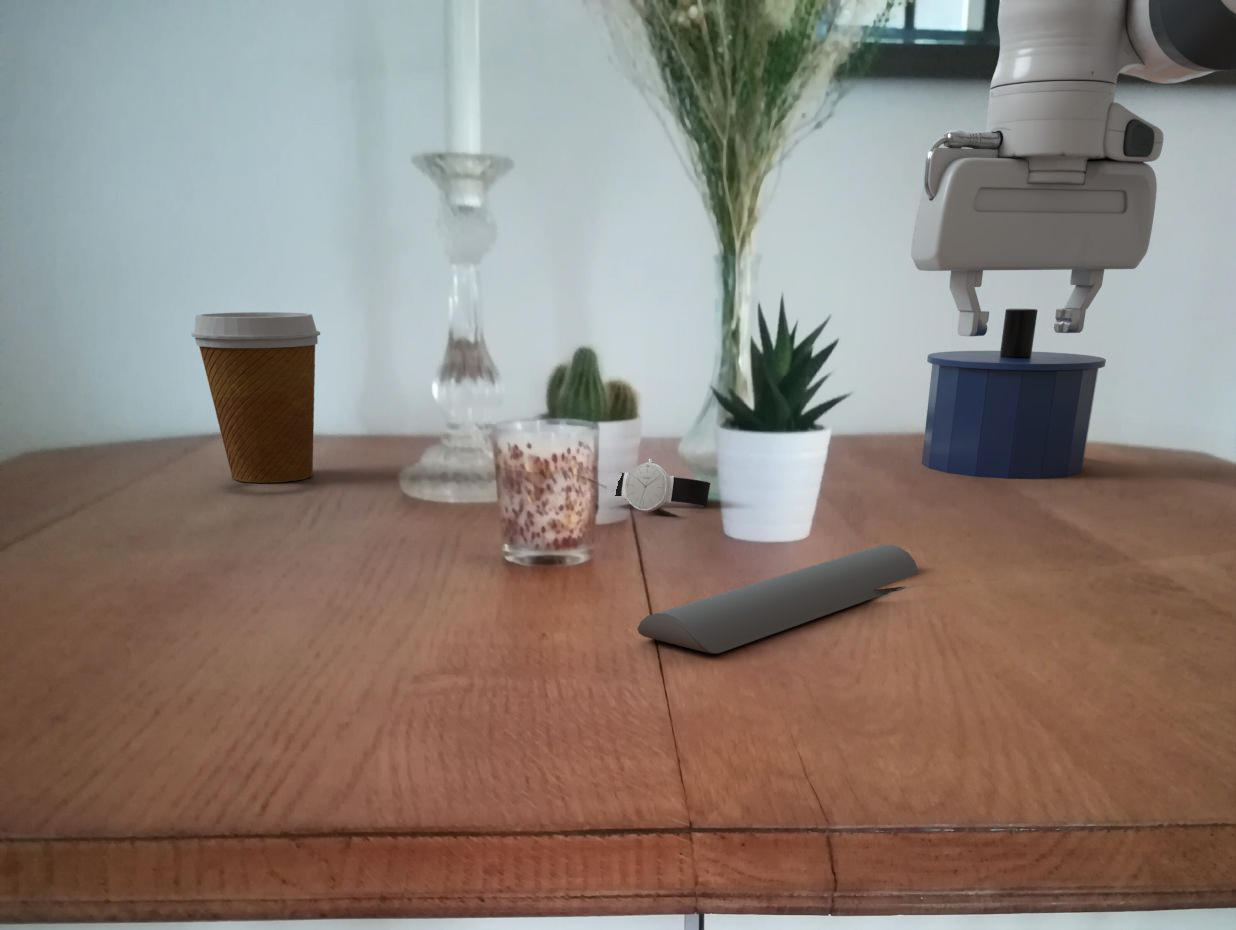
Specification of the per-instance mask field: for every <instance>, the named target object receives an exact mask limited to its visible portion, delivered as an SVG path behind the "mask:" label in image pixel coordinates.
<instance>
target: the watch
mask: <svg viewBox="0 0 1236 930" xmlns="http://www.w3.org/2000/svg"><path fill="white" fill-rule="evenodd" d="M621 473H622V476H621V478H620V480H619V481H618V486H617V489H616V495H615V496H622V498H627V500H626V501H628V503H629V504H630V505H631V506H632V507H633V508H634V509H636V510H638V511H639V512H640V511H641V512H645V513H648V512H654V511H656V510H658V509H660V507H662V506H663V505H664V504H665V503H668V504H671V503H672V502H675V503H682V504H683V503H684V504H691V505H692V504H693V505H698V506H704V507H707V505H708V501H709V495H710V494H709V493H710V489H711V482H709V481H705V480H700V479H693V478H685V477H675V476H674V475H669V474H668V473H667V471H666V470H665V469H664V468H663V467H662V466H660V465H659V464H657V463H654V459H653V458H648V462H647V461H646V462H644V463H640V464H637V465H636V466H634V467H633V468H632V469H631V470H630V471H628V472H626V471H624V472H621Z"/></svg>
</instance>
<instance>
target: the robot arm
mask: <svg viewBox="0 0 1236 930" xmlns="http://www.w3.org/2000/svg"><path fill="white" fill-rule="evenodd" d="M997 29H998V34H999V55H998V59H997V62H996V63H997V64H996V67H995V70H994V73H993V75H992V79H991V81H990V86H989V95H988V103H987V113H986V122H985V129H984V131H983V130H981V131H973V132H969V131H968V132H965V131H964V130H955V129H954V130H949V131H946V132H945V134H944V135H943V136H942V137H939V138H938V139H936V141H935V142H934V143H933V144H932V146H931V147H930V148H929V149H928V150H927V153H926V156H925V161H924V169H923V170H924V173H923V184H922V189H921V193H920V197H919V200H918V205H917V210H916V215H915V221H914V226H913V230H912V231H913V233H912V239H911V246H910V256H911V260H912V262H913V263H914V266H915V267H916V269H917V270H918V271H923V272H925V271H926V272H950V274H949V287H948V288H949V290H950V293H951V295H952V298H953V301H954V303H955V305H956V309H957V311H958V312H959V314H958V323H957V334H958V336H960V337H983V336H986V334H987V332H988V325H987V323H988V322H989V317H990V311H986V310H985V311H984V310H982V308H981V305H980V301H979V298H978V295H977V291H976V288H980V287H981V286H982V283H983V277H984V275H983V274H984V271H1069V270H1070V271H1071V274H1070V279H1069V280H1070V282H1069V284H1070V286H1074V288H1073V290H1072V292H1071V293H1070V296H1069V298H1068V300H1067V302H1066V303H1065V306H1064V308H1056V310H1055V316H1054V318H1055V322H1054V324H1053V330H1054V332H1055V333H1057V334H1080V333H1081V332H1082V331H1083V329H1084V327H1085V319H1086V314H1087V313H1086V312H1087V310H1088V309H1089V308H1090V306H1091V304H1092V303H1093V301H1094V299H1095V298H1096V296H1097V294H1098V293H1099V291H1100V290H1101V288H1102V286H1103V281H1104V274H1105V270H1135V269H1136V268H1137V267H1138V266H1139V265H1140V264H1141V262H1142V261H1143V259H1144V258H1145V256H1146V255H1147V254H1148V253H1147V252H1148V250H1149V246H1150V241H1151V237H1152V236H1151V235H1152V231H1153V224H1154V217H1155V209H1156V202H1157V191H1158V189H1157V188H1158V187H1157V186H1158V183H1157V176H1156V173H1155V170H1154V169H1153V167H1152V166H1151V165H1150V164H1148V163H1149V162H1150V163H1151V162H1155V161H1157V160H1158V159H1159V158H1160V156H1161V154H1162V150H1163V146H1164V131H1162V129H1161V128H1159V127H1158V126H1156V125H1155V124H1152V123H1151V122H1149V121H1148V120H1145V119H1143V117H1140V116H1138V115H1137V114H1135V113H1134V112H1132V111H1131V110H1129V109H1128V108H1126V107H1125V106H1124V105H1122V104H1121V103H1118V102H1115V97H1116V88H1117V81H1118V76H1119V75H1121V76H1127V77H1131V78H1136V79H1142V80H1145V81H1148V82H1152V83H1157V84H1177V83H1182V82H1187V81H1190V80H1191V79H1192V80H1193V79H1196V78H1201V77H1203V76H1207V75H1209V74H1212V73H1215V72H1222V71H1230V70H1231V71H1232V70H1234V71H1235V70H1236V0H999V4H998V12H997ZM942 145H943V146H944V147H940V146H942Z"/></svg>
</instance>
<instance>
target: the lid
mask: <svg viewBox="0 0 1236 930" xmlns="http://www.w3.org/2000/svg"><path fill="white" fill-rule="evenodd" d="M1037 317H1038V309H1036V308H1006V309H1005V312H1004V321H1003V327H1002V335H1001V344H1000V350H955V351H954V350H953V351H939V352H932V353H929V354H928V355H927V359H926V360H927V363H929V364H931V365H932V364H936V365H942V366H950V367H960V368H973V369H990V370H1017V371H1070V370H1089V369H1098V368H1099V369H1102V368H1104V367H1105V366H1106V363H1107V360H1106V359H1105V358H1104V357H1101V356H1096V355H1089V354H1079V353H1068V352H1052V351H1051V352H1049V351H1033V348H1034V347H1033V346H1034V340H1035V332H1036V325H1037V324H1036V323H1037ZM1099 369H1098V370H1099Z"/></svg>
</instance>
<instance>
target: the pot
mask: <svg viewBox="0 0 1236 930" xmlns="http://www.w3.org/2000/svg"><path fill="white" fill-rule="evenodd" d="M1099 369H1100V368H1098V369H1089V370H1070V371H1017V370H990V369H973V368H960V367H950V366H942V365H936V364H931V372H930V380H929V381H930V383H929V390H928V391H929V392H928V400H927V401H928V402H927V410H926V420H925V428H924V429H925V430H924V437H923V446H922V447H923V448H922V457H921V464H922V465H923V466H925V467H926V468H928V469H930V470H934V471H938V472H942V473H946V474H951V475H952V474H953V475H959V476H960V475H961V476H966V477H974V478H975V477H976V478H988V479H1004V480H1006V479H1008V480H1044V479H1045V480H1046V479H1057V478H1058V479H1060V478H1068V477H1072V476H1076V475H1079V474H1081V473H1082V472H1083V468H1084V462H1085V456H1086V449H1087V444H1088V437H1089V430H1090V424H1091V417H1092V412H1093V406H1094V400H1095V394H1096V388H1097V383H1098V382H1097V381H1098V376H1099Z"/></svg>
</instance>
